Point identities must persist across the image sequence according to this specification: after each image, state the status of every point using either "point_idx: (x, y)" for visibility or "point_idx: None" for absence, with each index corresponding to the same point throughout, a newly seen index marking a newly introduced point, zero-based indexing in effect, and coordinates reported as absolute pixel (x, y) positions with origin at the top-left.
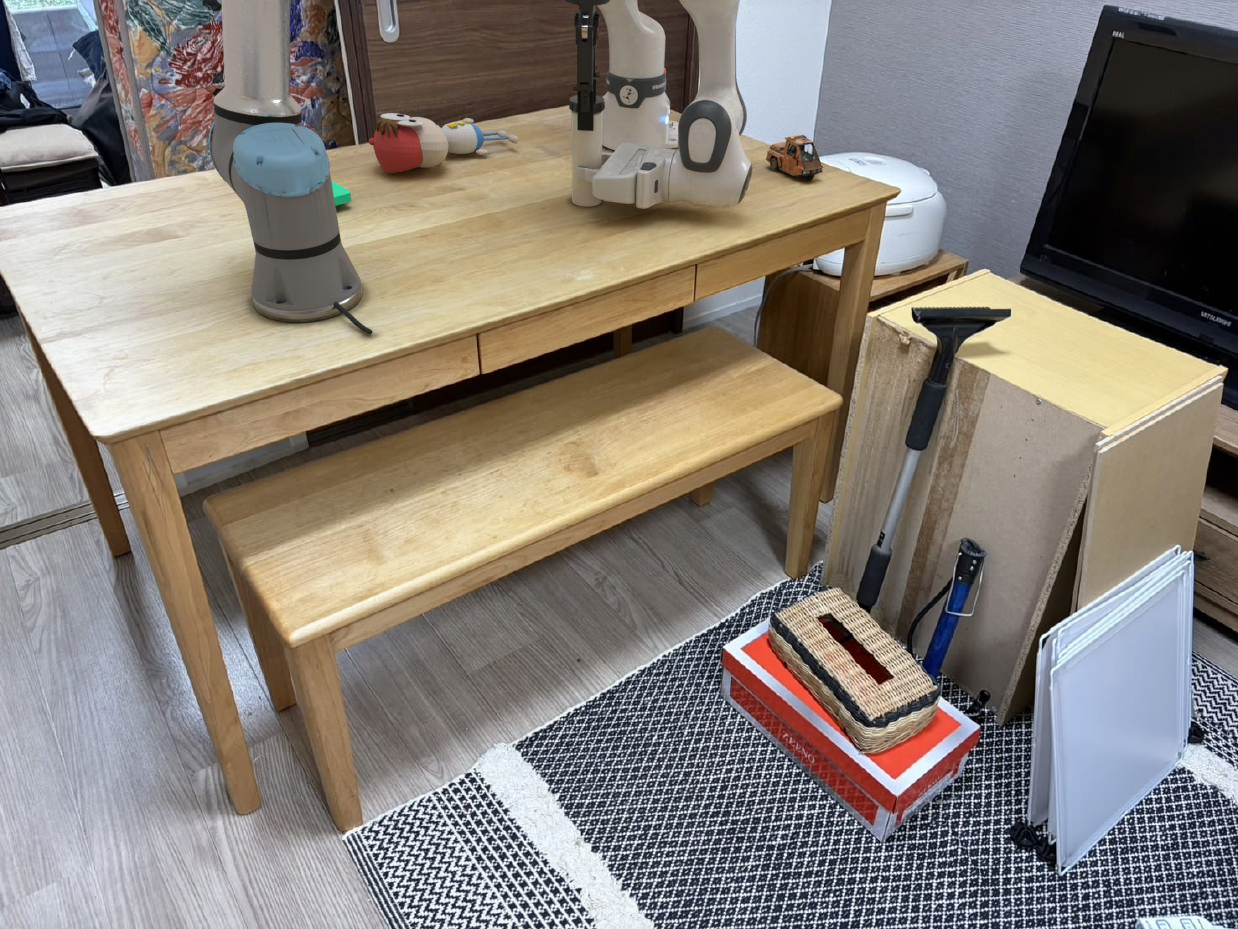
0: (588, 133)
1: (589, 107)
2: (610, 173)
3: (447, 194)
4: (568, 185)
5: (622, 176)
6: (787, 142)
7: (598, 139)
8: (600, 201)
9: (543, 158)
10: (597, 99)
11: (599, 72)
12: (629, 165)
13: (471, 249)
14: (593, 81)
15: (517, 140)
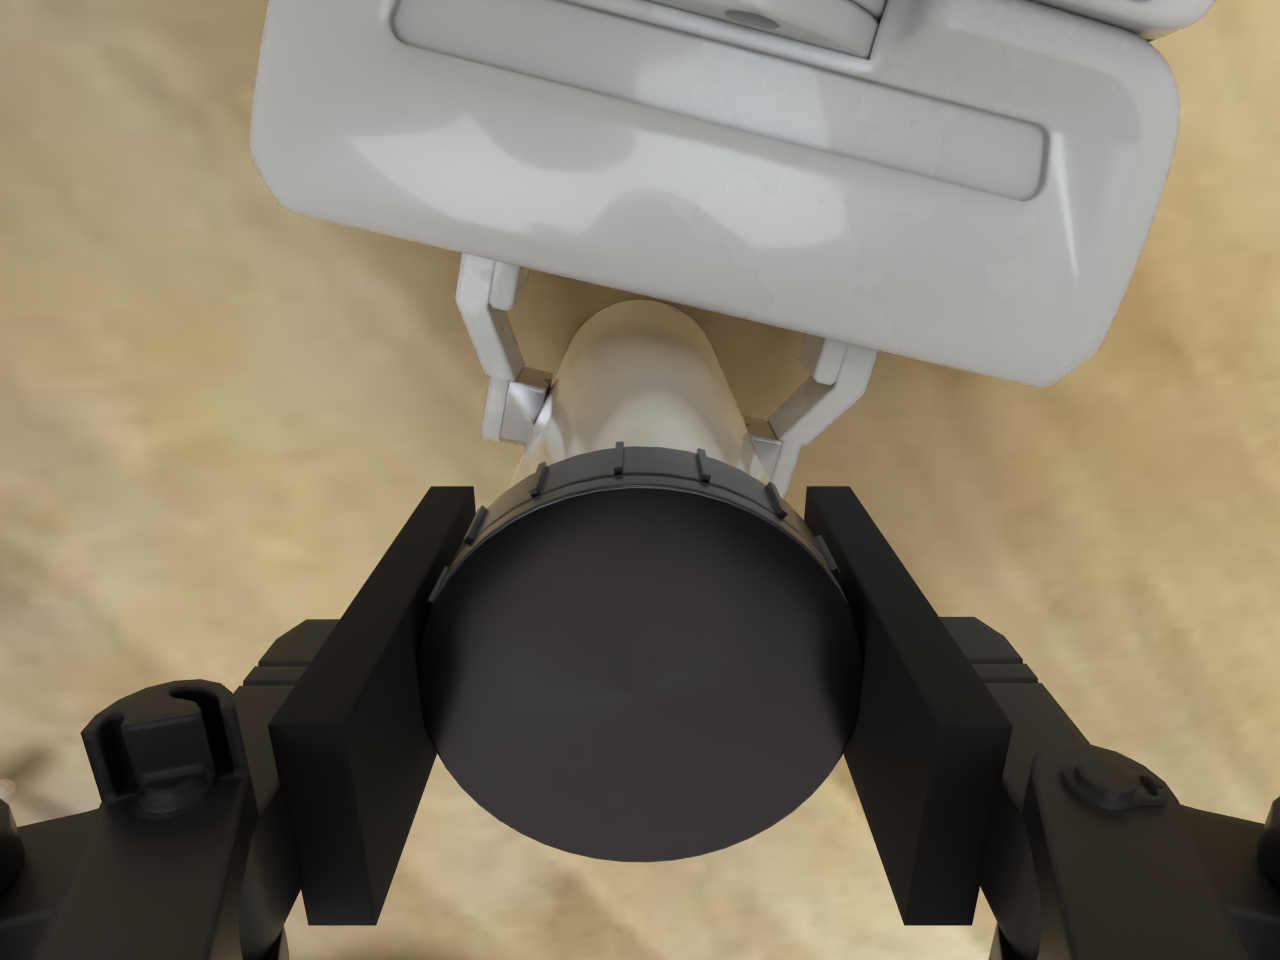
0: None
1: (980, 643)
2: (1011, 265)
3: (625, 919)
4: (431, 483)
5: (1166, 165)
6: None
7: (723, 411)
8: (663, 304)
9: (77, 631)
10: (638, 573)
11: (88, 740)
12: (794, 117)
13: (1178, 775)
14: (361, 746)
15: (3, 789)
